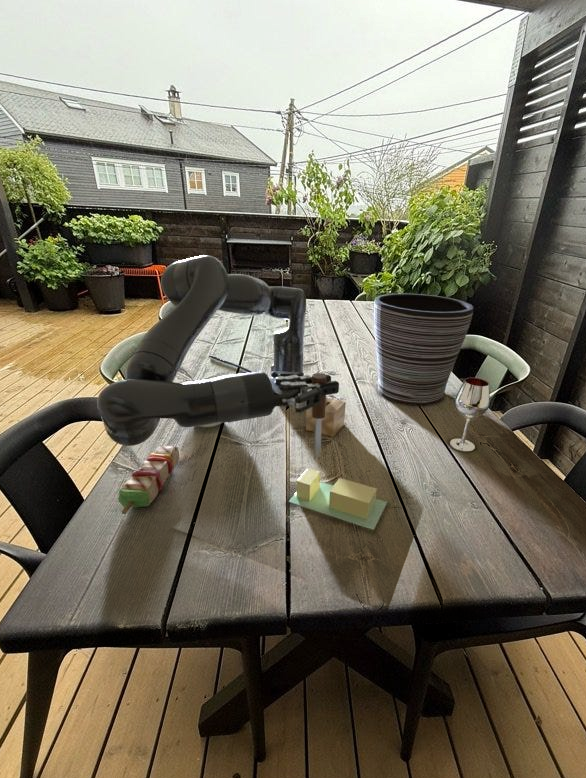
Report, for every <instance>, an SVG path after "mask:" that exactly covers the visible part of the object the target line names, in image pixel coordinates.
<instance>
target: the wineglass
mask: <svg viewBox="0 0 586 778" xmlns="http://www.w3.org/2000/svg"><path fill="white" fill-rule="evenodd" d="M490 400H491V396H490V383H489V381H487V380H485V379H483V378H479V377H467V378H465V379H463V382H462V383H461V385H460V387H459V390H458V392H457V394H456V396H455V399H454V406H455V408H456V411H458V412H459V414H460V415H461V416H462V417H463V418H464V420H465V425H464V428H463V433H462V437H461V438H453V439H450V440H449V445H450V446H451V448H453V449H455V450H457V451H459V452H466V453H469V452H472V451H474V450H475V448H476V446H475V444H474V443H473V442H471V441H470V440H468V439H466V438H467V434H468V429H469V425H470V422H471V421H473V420H475V419H478V418H480V417H481V416H483V415H485V414H486V413H487V412H488V410H489V408H490V402H491V401H490Z"/></svg>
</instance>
